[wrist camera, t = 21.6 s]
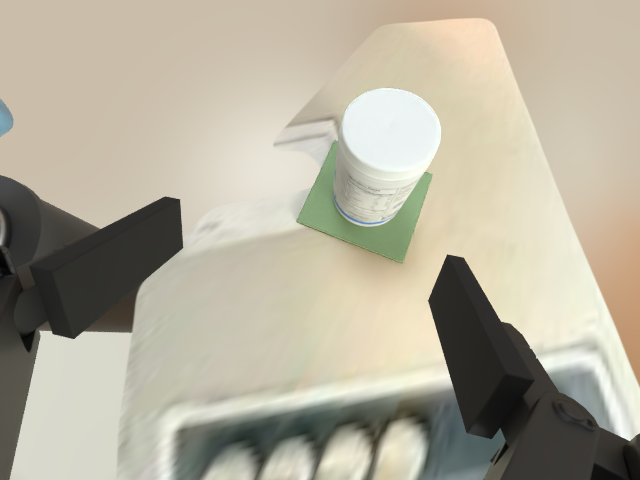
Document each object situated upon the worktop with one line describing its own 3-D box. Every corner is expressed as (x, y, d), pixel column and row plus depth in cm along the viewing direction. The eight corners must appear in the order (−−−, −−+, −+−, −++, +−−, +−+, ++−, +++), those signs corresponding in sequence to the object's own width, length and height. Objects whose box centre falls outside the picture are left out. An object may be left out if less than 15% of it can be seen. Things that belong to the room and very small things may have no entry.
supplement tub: (342, 159, 43) (354, 74, 29) (407, 176, 42) (451, 96, 28) (323, 219, 40) (326, 155, 26) (392, 238, 39) (433, 183, 25)
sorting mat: (296, 221, 40) (296, 220, 40) (334, 141, 44) (334, 139, 44) (402, 263, 39) (402, 262, 38) (431, 175, 43) (432, 174, 42)
